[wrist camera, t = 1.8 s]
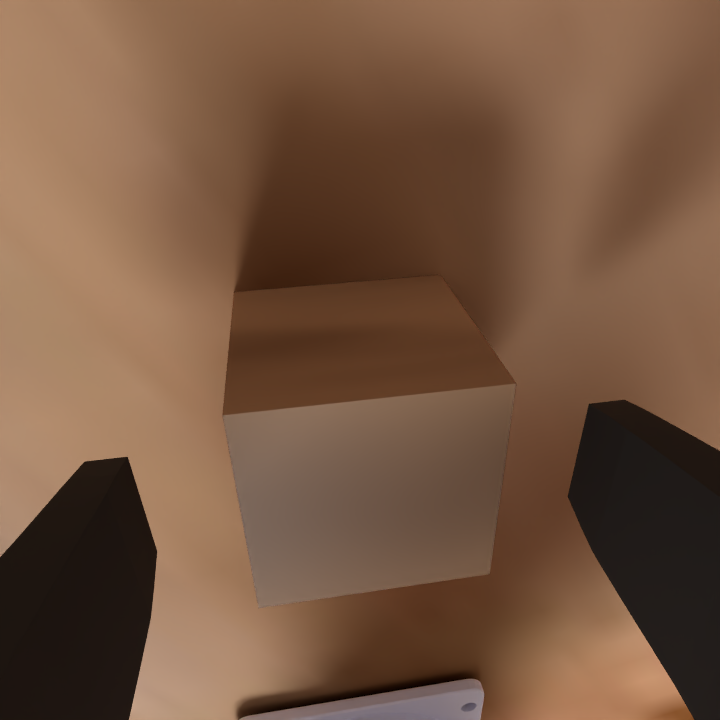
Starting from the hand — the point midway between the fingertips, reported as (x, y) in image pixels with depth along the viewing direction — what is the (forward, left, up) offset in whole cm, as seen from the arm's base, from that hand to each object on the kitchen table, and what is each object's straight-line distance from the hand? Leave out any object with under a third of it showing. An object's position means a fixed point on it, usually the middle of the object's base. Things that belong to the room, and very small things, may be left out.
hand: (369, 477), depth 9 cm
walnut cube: (0, 0, -4) cm, 4 cm away
